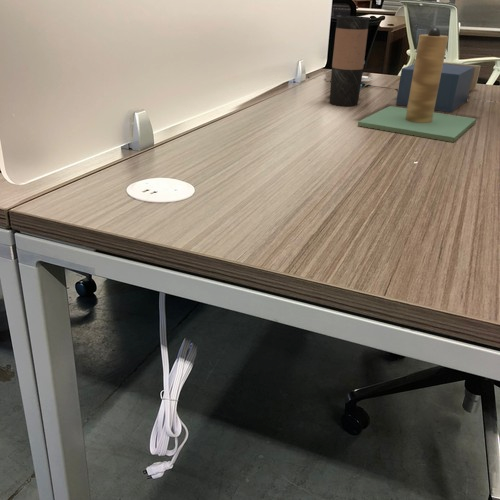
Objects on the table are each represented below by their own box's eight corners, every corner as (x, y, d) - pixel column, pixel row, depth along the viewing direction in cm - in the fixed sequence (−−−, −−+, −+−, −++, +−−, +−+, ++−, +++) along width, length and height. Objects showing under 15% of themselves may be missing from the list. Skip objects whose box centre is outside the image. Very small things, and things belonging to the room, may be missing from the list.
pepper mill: (435, 119, 111) (453, 27, 102) (427, 124, 107) (446, 29, 98) (409, 115, 114) (425, 26, 105) (401, 120, 109) (417, 27, 101)
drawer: (434, 83, 153) (439, 59, 150) (478, 89, 147) (483, 64, 144) (414, 93, 138) (419, 66, 135) (462, 99, 132) (468, 72, 129)
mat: (475, 123, 113) (476, 118, 113) (453, 142, 98) (454, 137, 98) (389, 110, 123) (389, 106, 122) (357, 126, 108) (357, 121, 107)
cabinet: (415, 94, 141) (421, 61, 137) (466, 101, 135) (474, 66, 131) (395, 104, 129) (401, 68, 125) (451, 112, 122) (459, 74, 118)
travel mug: (364, 105, 127) (376, 18, 117) (338, 107, 124) (347, 17, 115) (348, 99, 133) (358, 16, 123) (323, 101, 130) (331, 15, 121)
